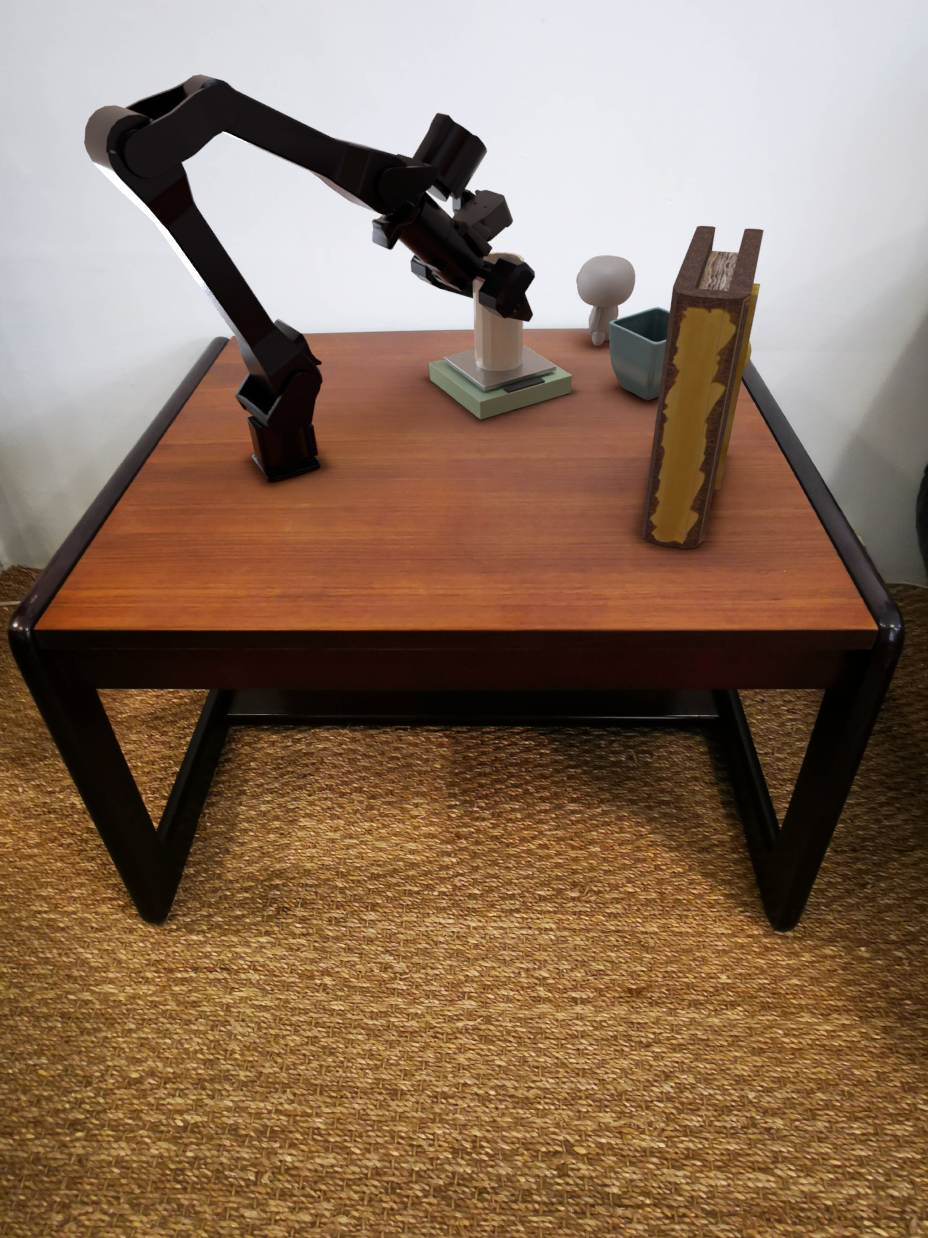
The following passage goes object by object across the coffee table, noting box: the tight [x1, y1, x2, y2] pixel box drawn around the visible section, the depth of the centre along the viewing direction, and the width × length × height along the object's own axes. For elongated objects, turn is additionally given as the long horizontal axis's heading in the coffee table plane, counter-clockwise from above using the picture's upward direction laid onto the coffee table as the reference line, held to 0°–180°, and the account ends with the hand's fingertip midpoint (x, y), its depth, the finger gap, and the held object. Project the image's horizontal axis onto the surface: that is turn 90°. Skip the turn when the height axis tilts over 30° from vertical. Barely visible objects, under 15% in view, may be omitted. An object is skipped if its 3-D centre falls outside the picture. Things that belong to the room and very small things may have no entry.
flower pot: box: [608, 306, 670, 401], centre depth 107 cm, size 9×9×9 cm
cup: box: [472, 251, 525, 371], centre depth 106 cm, size 6×6×13 cm
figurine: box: [575, 254, 636, 347], centre depth 118 cm, size 8×8×12 cm
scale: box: [428, 344, 573, 421], centre depth 111 cm, size 14×14×3 cm
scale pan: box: [443, 345, 557, 391], centre depth 110 cm, size 11×11×1 cm
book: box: [640, 225, 764, 550], centre depth 83 cm, size 22×8×25 cm, turn 162°
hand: (507, 307), depth 106 cm, fingers open, 9 cm apart
